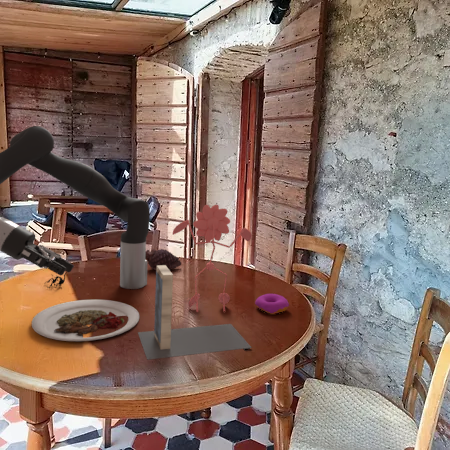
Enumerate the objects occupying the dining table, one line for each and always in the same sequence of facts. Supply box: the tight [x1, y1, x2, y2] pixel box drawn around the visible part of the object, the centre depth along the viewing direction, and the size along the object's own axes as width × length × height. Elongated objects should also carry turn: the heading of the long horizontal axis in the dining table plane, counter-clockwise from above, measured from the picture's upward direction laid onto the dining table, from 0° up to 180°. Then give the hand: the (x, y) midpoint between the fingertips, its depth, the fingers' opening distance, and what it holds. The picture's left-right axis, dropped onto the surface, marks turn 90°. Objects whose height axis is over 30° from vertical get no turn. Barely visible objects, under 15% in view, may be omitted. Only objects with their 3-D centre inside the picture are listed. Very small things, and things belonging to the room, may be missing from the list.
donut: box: [254, 293, 290, 313], centre depth 142 cm, size 11×10×5 cm
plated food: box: [31, 299, 140, 342], centre depth 123 cm, size 30×30×3 cm
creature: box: [44, 271, 68, 288], centre depth 153 cm, size 8×5×8 cm
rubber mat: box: [137, 323, 252, 361], centre depth 115 cm, size 28×16×1 cm, turn 110°
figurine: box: [172, 204, 253, 313], centre depth 140 cm, size 15×26×35 cm, turn 104°
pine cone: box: [146, 248, 182, 272], centre depth 181 cm, size 18×10×10 cm
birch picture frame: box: [153, 265, 174, 350], centre depth 111 cm, size 9×3×20 cm, turn 20°
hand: (68, 270), depth 106 cm, fingers open, 8 cm apart
